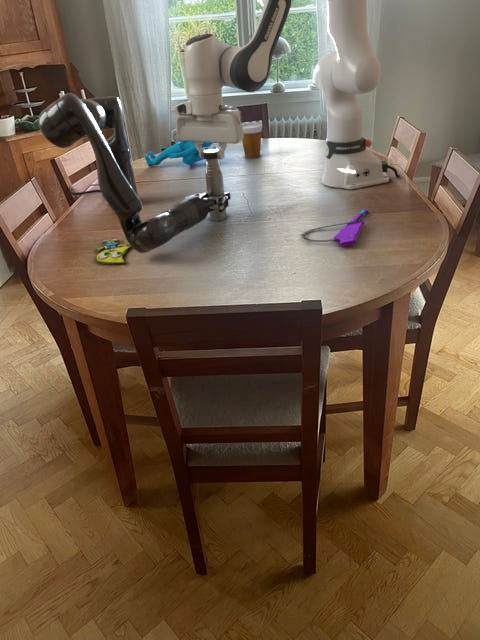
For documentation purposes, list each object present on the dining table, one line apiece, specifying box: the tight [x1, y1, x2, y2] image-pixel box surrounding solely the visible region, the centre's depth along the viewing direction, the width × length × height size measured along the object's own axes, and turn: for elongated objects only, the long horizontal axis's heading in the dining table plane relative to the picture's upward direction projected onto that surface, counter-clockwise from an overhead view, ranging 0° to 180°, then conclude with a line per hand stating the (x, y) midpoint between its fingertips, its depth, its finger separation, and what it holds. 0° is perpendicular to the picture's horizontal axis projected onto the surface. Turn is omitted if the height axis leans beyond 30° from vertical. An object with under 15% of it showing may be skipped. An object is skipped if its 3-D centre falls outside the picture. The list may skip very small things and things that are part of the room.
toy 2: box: [144, 140, 217, 168], centre depth 197 cm, size 17×11×30 cm
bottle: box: [204, 159, 228, 221], centre depth 140 cm, size 5×5×19 cm
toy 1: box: [95, 238, 133, 265], centre depth 129 cm, size 10×1×15 cm
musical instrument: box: [301, 208, 369, 248], centre depth 130 cm, size 24×2×20 cm
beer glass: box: [241, 123, 263, 159], centre depth 199 cm, size 10×10×12 cm
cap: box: [203, 148, 220, 160], centre depth 135 cm, size 5×5×2 cm
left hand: (221, 194), depth 144 cm, fingers closed on bottle, 5 cm apart
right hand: (212, 158), depth 136 cm, fingers closed on cap, 4 cm apart
